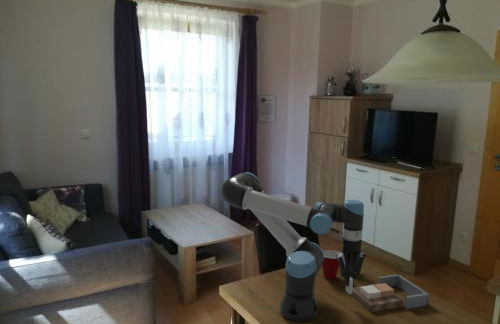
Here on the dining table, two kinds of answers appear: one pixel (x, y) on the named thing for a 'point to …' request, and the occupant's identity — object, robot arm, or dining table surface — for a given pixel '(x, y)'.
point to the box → (407, 290)
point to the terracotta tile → (384, 289)
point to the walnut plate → (377, 301)
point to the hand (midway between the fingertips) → (348, 292)
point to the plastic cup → (330, 264)
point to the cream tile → (370, 292)
